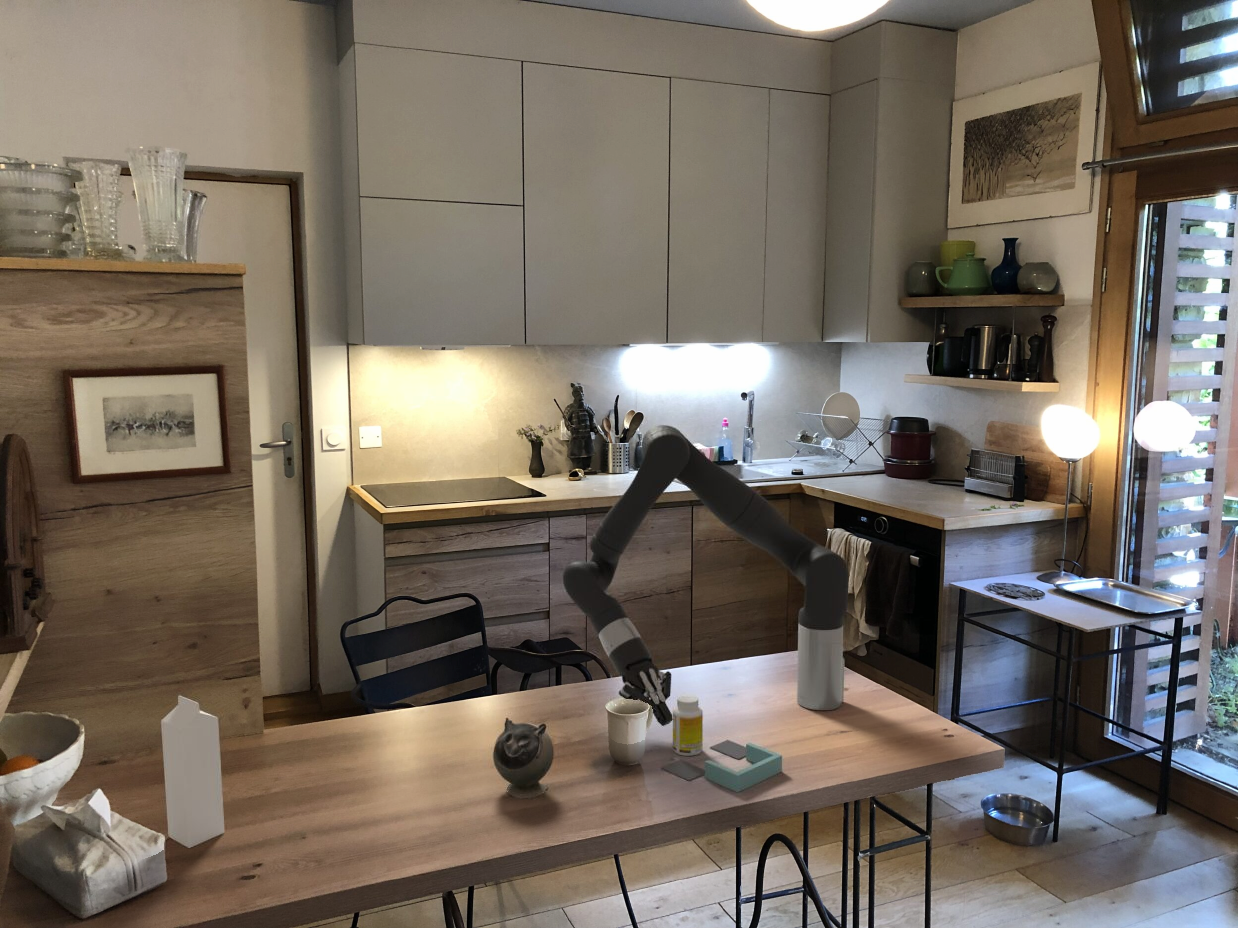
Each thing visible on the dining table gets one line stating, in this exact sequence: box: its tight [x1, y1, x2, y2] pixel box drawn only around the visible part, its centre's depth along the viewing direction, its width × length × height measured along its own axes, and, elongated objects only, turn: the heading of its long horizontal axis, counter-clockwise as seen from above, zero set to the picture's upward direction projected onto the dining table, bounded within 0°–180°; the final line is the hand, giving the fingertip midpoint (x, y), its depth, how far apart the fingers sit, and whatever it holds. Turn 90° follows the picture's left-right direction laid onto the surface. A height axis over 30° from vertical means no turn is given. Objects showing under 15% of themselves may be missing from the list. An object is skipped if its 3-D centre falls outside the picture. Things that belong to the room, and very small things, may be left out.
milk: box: [160, 695, 225, 849], centre depth 150 cm, size 6×6×22 cm
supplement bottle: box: [672, 694, 704, 757], centre depth 181 cm, size 6×6×10 cm
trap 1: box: [660, 758, 705, 782], centre depth 173 cm, size 5×7×1 cm
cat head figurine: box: [492, 717, 555, 799], centre depth 165 cm, size 10×12×10 cm
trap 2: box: [709, 739, 746, 760], centre depth 182 cm, size 5×7×1 cm
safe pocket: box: [704, 742, 783, 793], centre depth 171 cm, size 12×8×3 cm, turn 132°
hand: (667, 722), depth 185 cm, fingers closed
